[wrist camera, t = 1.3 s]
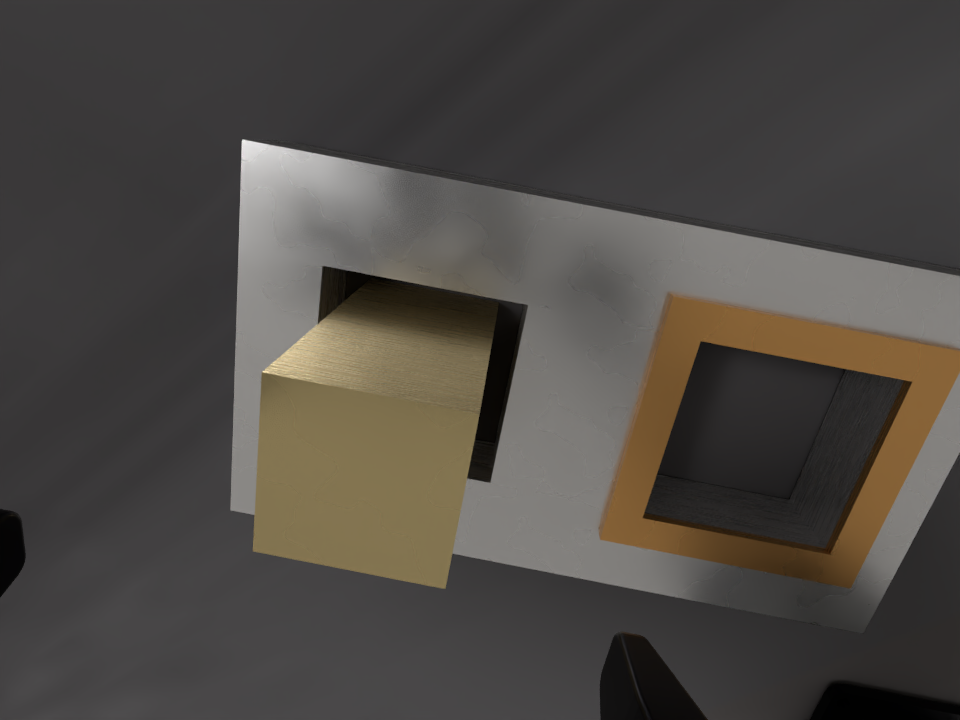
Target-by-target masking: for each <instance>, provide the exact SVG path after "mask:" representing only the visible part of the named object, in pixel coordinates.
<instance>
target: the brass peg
mask: <svg viewBox="0 0 960 720" xmlns="http://www.w3.org/2000/svg"><path fill="white" fill-rule="evenodd" d="M498 306H499V302H493V301H488V300H483V299H478V298H473V297H467V296H462V295H457V294H452V293H447V292H441V291H436V290H431V289H426V288H421V287H415V286H410V285H405V284H400V283H395V282H389V281H384V280H379V279H374V278H371V279H370V280H368V281H367V282H366V283H365V284H364V285H363V286H361V287H360V288H359V289H358V290H357V291H356V292H354V293H353V294H352V295H351V296H350V297H349V298H347V299H346V300H345V301H344V302H343V303H342V304H340V305H339V306H338V307H337V308H336V309H335V310H334V311H332V312H331V313H330V314H329V315H328V316H327V317H325V318H324V319H323V320H322V321H321V322H320V323H318V324H317V325H316V326H315V327H314V328H313V329H311V330H310V331H309V332H308V333H307V334H306V335H304V336H303V337H302V338H301V339H300V340H299V341H297V342H296V343H295V344H294V345H293V346H292V347H290V348H289V349H288V350H287V351H286V352H285V353H283V354H282V355H281V356H280V357H279V358H278V359H276V360H275V361H274V362H273V363H272V364H271V365H269V366H268V367H267V368H266V369H265V370H264V371H262V375H261V396H260V416H259V437H258V457H257V478H256V498H255V519H254V539H253V551H254V552H259V553H264V554H270V555H275V556H280V557H285V558H290V559H295V560H300V561H305V562H310V563H315V564H320V565H326V566H331V567H336V568H341V569H346V570H351V571H356V572H361V573H366V574H371V575H376V576H382V577H387V578H392V579H397V580H402V581H407V582H412V583H417V584H422V585H427V586H433V587H438V588H443V589H445V588H446V583H447V578H448V573H449V568H450V563H451V558H452V553H453V547H454V542H455V537H456V532H457V527H458V522H459V517H460V512H461V507H462V502H463V497H464V491H465V486H466V481H467V476H468V471H469V466H470V461H471V456H472V451H473V446H474V441H475V435H476V430H477V425H478V420H479V415H480V409H481V404H482V398H483V392H484V386H485V381H486V375H487V369H488V363H489V358H490V352H491V346H492V340H493V335H494V329H495V323H496V317H497V312H498Z"/></svg>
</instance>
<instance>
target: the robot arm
mask: <svg viewBox="0 0 960 720" xmlns="http://www.w3.org/2000/svg"><path fill="white" fill-rule="evenodd" d="M25 558H26V553H25V545H24V536H23V528H22V521H21V518H20V516H19V515H18V514H17V513H15V512H13V511H8V510H3V509H0V597H1V596H2V595H3V593H4V592H5V591H6V590H7V588H8V587H9V586H10V585H11V583H12V582H13V581H14V580H15V578H16V577H17V576H18V575H19V573H20V571H21V570H22V568H23V565H24V563H25ZM600 714H601V720H708V719H707V718H706V717H705V715H704V714H703V713H702V711H701V710H700V709H699V707H698V706H697V705H696V703H695V702H694V701H693V699H692V698H691V697H690V695H689V694H688V693H687V691H686V690H685V689H684V687H683V686H682V685H681V684H680V682H679V681H678V680H677V678H676V677H675V676H674V674H673V673H672V672H671V670H670V669H669V668H668V666H667V665H666V664H665V662H664V661H663V660H662V658H661V657H660V656H659V654H658V653H657V652H656V650H655V649H654V648H653V647H652V645H651V644H650V643H649V641H648V640H647V639H646V638H645V637H643V636H641V635H636V634H631V633H626V632H618V633H616V634H615V636H614V637H613V640H612V643H611V646H610V649H609V652H608V655H607V658H606V661H605V664H604V667H603V670H602V674H601V680H600ZM810 720H960V707H958V706H953V705H948V704H943V703H938V702H933V701H928V700H922V699H917V698H912V697H907V696H902V695H897V694H892V693H887V692H882V691H877V690H872V689H866V688H861V687H856V686H851V685H846V684H835V685H832V686H830V687H828V688H827V690H826V691H825V693H824V694H823V696H822V698H821V700H820V702H819V704H818V706H817V708H816V710H815V712H814V713H813V715H812V717H811V719H810Z"/></svg>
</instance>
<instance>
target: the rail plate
mask: <svg viewBox="0 0 960 720" xmlns="http://www.w3.org/2000/svg"><path fill="white" fill-rule="evenodd" d="M347 270H348V271H353V272H359V273H364V274H369V275H374V276H379V277H385V278H390V279H395V280H400V281H405V282H411V283H416V284H421V285H426V286H431V287H437V288H442V289H447V290H452V291H458V292H463V293H468V294H473V295H478V296H484V297H489V298H494V299H499V300H504V301H510V302H515V303H520V304H524V305H523V310H522V315H521V320H520V324H519V329H518V334H517V339H516V343H515V348H514V353H513V358H512V363H511V367H510V372H509V377H508V382H507V386H506V391H505V396H504V401H503V405H502V410H501V415H500V420H499V424H498V429H497V434H496V439H495V443H494V442H489V441H483V440H478V439H475V441H474V446H473V451H472V456H471V461H470V466H469V471H468V476H467V481H466V486H465V491H464V497H463V502H462V507H461V512H460V517H459V522H458V527H457V532H456V537H455V542H454V547H453V553H452V554H457V555H462V556H468V557H473V558H478V559H483V560H488V561H493V562H498V563H503V564H508V565H514V566H519V567H524V568H529V569H534V570H539V571H544V572H549V573H554V574H560V575H565V576H570V577H575V578H580V579H585V580H590V581H595V582H601V583H606V584H611V585H616V586H621V587H626V588H631V589H636V590H641V591H647V592H652V593H657V594H662V595H667V596H672V597H677V598H682V599H687V600H693V601H698V602H703V603H708V604H713V605H718V606H723V607H728V608H733V609H739V610H744V611H749V612H754V613H759V614H764V615H769V616H774V617H779V618H785V619H790V620H795V621H800V622H805V623H810V624H815V625H820V626H825V627H831V628H836V629H841V630H846V631H851V632H856V633H861V634H863V633H864V631H865V630H866V628H867V626H868V624H869V622H870V620H871V618H872V616H873V614H874V613H875V611H876V609H877V607H878V605H879V603H880V601H881V599H882V598H883V596H884V594H885V592H886V590H887V588H888V586H889V584H890V583H891V581H892V579H893V577H894V575H895V573H896V571H897V569H898V567H899V566H900V564H901V562H902V560H903V558H904V556H905V554H906V552H907V551H908V549H909V547H910V545H911V543H912V541H913V539H914V537H915V536H916V534H917V532H918V530H919V528H920V526H921V524H922V522H923V521H924V519H925V517H926V515H927V513H928V511H929V509H930V507H931V505H932V504H933V502H934V500H935V498H936V496H937V494H938V492H939V490H940V489H941V487H942V485H943V483H944V481H945V479H946V477H947V475H948V474H949V472H950V470H951V468H952V466H953V464H954V462H955V460H956V459H957V457H958V455H959V453H960V269H956V268H951V267H945V266H940V265H935V264H930V263H924V262H919V261H914V260H909V259H903V258H898V257H893V256H888V255H882V254H877V253H872V252H867V251H861V250H856V249H851V248H845V247H840V246H835V245H830V244H824V243H819V242H814V241H809V240H803V239H798V238H793V237H788V236H782V235H777V234H772V233H767V232H761V231H756V230H751V229H746V228H740V227H735V226H730V225H725V224H719V223H714V222H709V221H704V220H698V219H693V218H688V217H683V216H677V215H672V214H667V213H662V212H656V211H651V210H646V209H640V208H635V207H630V206H625V205H619V204H614V203H609V202H604V201H598V200H593V199H588V198H583V197H577V196H572V195H567V194H562V193H556V192H551V191H546V190H541V189H535V188H530V187H525V186H520V185H514V184H509V183H504V182H499V181H493V180H488V179H483V178H478V177H472V176H467V175H462V174H457V173H451V172H446V171H441V170H436V169H430V168H425V167H420V166H414V165H409V164H404V163H399V162H393V161H388V160H383V159H378V158H372V157H367V156H362V155H357V154H351V153H346V152H341V151H336V150H330V149H325V148H320V147H315V146H309V145H304V144H299V143H294V142H288V141H283V140H242V159H241V191H240V223H239V255H238V287H237V319H236V351H235V383H234V415H233V447H232V480H231V510H232V511H238V512H243V513H248V514H253V515H255V498H256V478H257V457H258V437H259V416H260V396H261V375H262V371H264V370H265V369H266V368H267V367H268V366H269V365H271V364H272V363H273V362H274V361H275V360H276V359H278V358H279V357H280V356H281V355H282V354H283V353H285V352H286V351H287V350H288V349H289V348H290V347H292V346H293V345H294V344H295V343H296V342H297V341H299V340H300V339H301V338H302V337H303V336H304V335H306V334H307V333H308V332H309V331H310V330H311V329H313V328H314V327H315V326H316V325H317V324H318V323H320V322H321V321H322V320H323V319H324V318H325V317H327V316H328V315H329V314H330V313H331V312H332V311H334V310H335V309H336V308H337V307H338V306H339V305H340V304H342V303H343V302H344V299H345V289H346V279H347ZM701 341H703V342H708V343H713V344H718V345H723V346H729V347H734V348H739V349H744V350H749V351H755V352H760V353H765V354H770V355H775V356H781V357H786V358H791V359H796V360H801V361H807V362H812V363H817V364H822V365H828V366H833V367H838V368H843V369H845V372H844V374H843V376H842V379H841V381H840V383H839V386H838V388H837V390H836V393H835V395H834V397H833V400H832V402H831V404H830V407H829V409H828V411H827V414H826V416H825V418H824V421H823V423H822V425H821V428H820V430H819V432H818V435H817V437H816V439H815V442H814V444H813V446H812V449H811V451H810V453H809V456H808V458H807V460H806V463H805V465H804V467H803V470H802V472H801V474H800V477H799V479H798V481H797V484H796V486H795V488H794V491H793V493H792V495H791V498H790V500H788V499H782V498H777V497H772V496H767V495H762V494H757V493H751V492H746V491H741V490H736V489H731V488H726V487H721V486H715V485H710V484H705V483H700V482H695V481H690V480H684V479H679V478H674V477H669V476H664V475H659V474H657V473H658V470H659V467H660V464H661V461H662V457H663V454H664V451H665V448H666V445H667V442H668V439H669V436H670V433H671V430H672V427H673V424H674V421H675V418H676V415H677V412H678V409H679V406H680V403H681V400H682V397H683V394H684V391H685V387H686V384H687V381H688V378H689V375H690V372H691V369H692V366H693V363H694V360H695V357H696V354H697V351H698V348H699V345H700V342H701Z"/></svg>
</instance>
